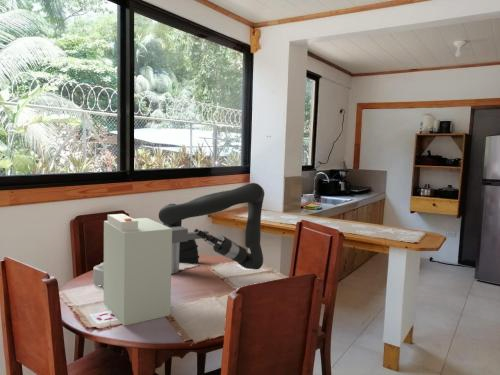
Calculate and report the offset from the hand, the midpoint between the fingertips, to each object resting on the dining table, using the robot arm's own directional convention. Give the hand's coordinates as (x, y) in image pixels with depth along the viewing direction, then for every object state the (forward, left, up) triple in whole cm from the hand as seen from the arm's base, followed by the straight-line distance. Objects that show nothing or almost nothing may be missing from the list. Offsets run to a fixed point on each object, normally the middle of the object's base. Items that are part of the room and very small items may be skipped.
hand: (196, 231), depth 162 cm
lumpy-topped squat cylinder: (-31, -26, -27) cm, 49 cm away
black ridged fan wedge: (-43, +18, -27) cm, 54 cm away
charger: (0, -5, -3) cm, 5 cm away
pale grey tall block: (+2, -26, -27) cm, 37 cm away
